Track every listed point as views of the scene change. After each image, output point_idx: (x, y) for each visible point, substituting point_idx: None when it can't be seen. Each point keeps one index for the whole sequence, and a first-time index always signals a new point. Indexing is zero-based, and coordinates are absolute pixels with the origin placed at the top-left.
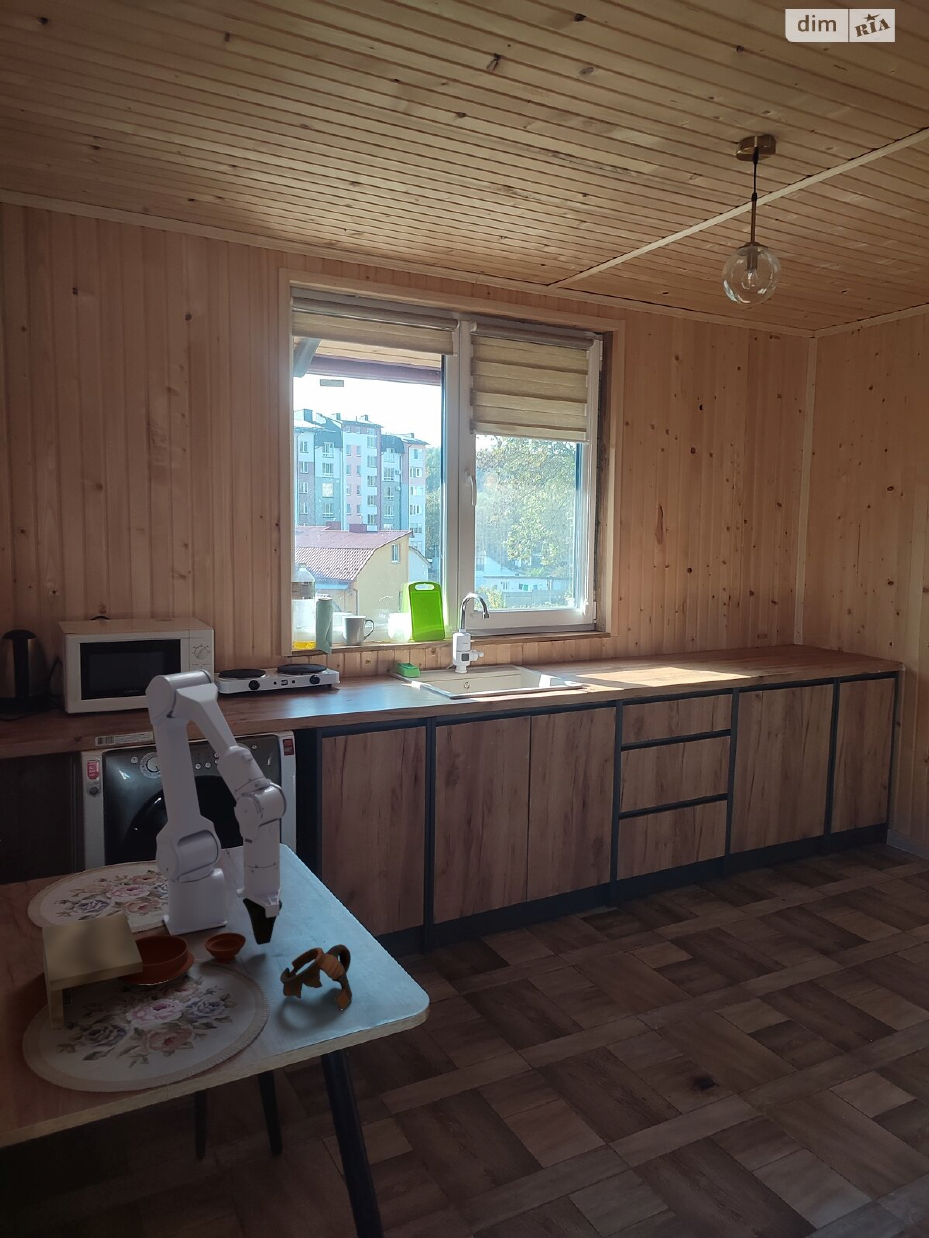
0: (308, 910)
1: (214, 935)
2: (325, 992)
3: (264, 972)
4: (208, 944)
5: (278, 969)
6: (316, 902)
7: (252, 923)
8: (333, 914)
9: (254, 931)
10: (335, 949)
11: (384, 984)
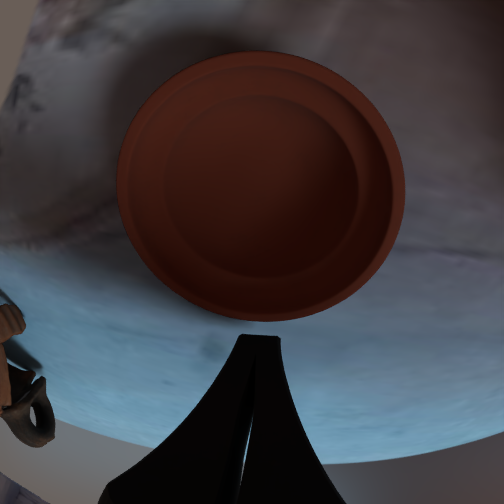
0: (433, 431)
1: (398, 161)
2: (24, 348)
3: (99, 282)
4: (315, 90)
5: (113, 321)
6: (450, 438)
7: (254, 413)
8: (375, 455)
9: (223, 382)
10: (12, 431)
11: (61, 410)
